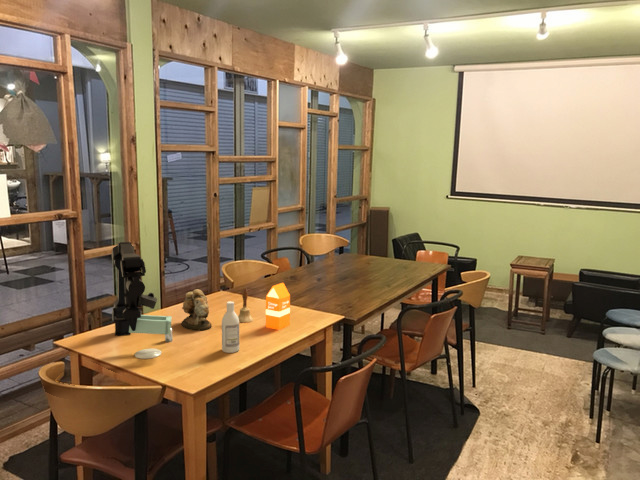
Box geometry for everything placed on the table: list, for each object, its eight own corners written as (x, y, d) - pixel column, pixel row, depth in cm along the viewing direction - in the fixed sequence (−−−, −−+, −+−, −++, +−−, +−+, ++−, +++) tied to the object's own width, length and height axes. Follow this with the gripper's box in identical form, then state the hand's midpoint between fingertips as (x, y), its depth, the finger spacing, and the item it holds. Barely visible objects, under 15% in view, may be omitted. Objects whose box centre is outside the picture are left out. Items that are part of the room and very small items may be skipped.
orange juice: (290, 325, 246) (290, 283, 243) (279, 330, 239) (279, 287, 236) (276, 322, 250) (276, 281, 247) (265, 327, 243) (265, 284, 240)
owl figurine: (173, 324, 244) (172, 288, 242) (194, 318, 253) (194, 284, 251) (196, 332, 233) (196, 295, 230) (218, 327, 241) (217, 290, 239)
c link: (170, 328, 213) (171, 316, 213) (170, 334, 202) (171, 321, 202) (131, 326, 209) (132, 314, 209) (128, 332, 197) (130, 319, 197)
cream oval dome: (133, 359, 200) (133, 358, 200) (135, 350, 210) (135, 349, 210) (160, 357, 203) (160, 356, 203) (161, 348, 213) (161, 347, 212)
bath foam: (242, 350, 213) (242, 302, 210) (229, 354, 208) (228, 305, 205) (232, 345, 217) (231, 299, 214) (218, 350, 212) (218, 302, 209)
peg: (165, 342, 220) (164, 329, 219) (165, 339, 223) (164, 327, 222) (172, 341, 221) (172, 329, 220) (172, 339, 224) (172, 326, 223)
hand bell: (256, 318, 255) (256, 286, 253) (249, 323, 247) (249, 290, 245) (240, 316, 257) (240, 285, 255) (233, 321, 250) (232, 288, 247)
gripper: (154, 295, 190) (155, 336, 192) (156, 282, 208) (157, 320, 210) (121, 296, 187) (123, 338, 189) (126, 284, 205) (127, 322, 207)
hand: (134, 329), depth 199 cm, fingers closed on c link, 2 cm apart
